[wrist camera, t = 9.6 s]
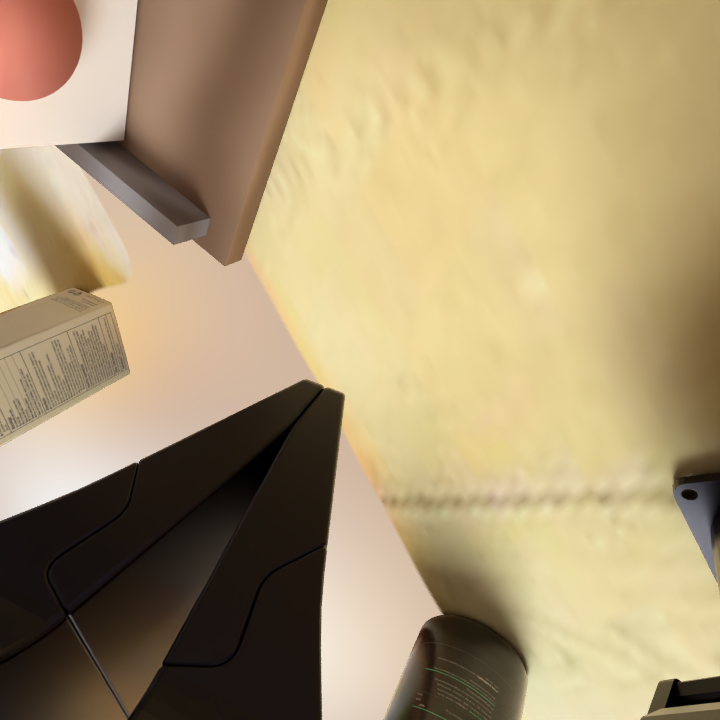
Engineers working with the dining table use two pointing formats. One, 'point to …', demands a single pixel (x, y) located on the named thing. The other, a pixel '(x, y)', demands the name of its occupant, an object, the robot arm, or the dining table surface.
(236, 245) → the press base
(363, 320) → the dining table surface
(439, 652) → the supplement bottle
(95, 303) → the skincare box
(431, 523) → the dining table surface
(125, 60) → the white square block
